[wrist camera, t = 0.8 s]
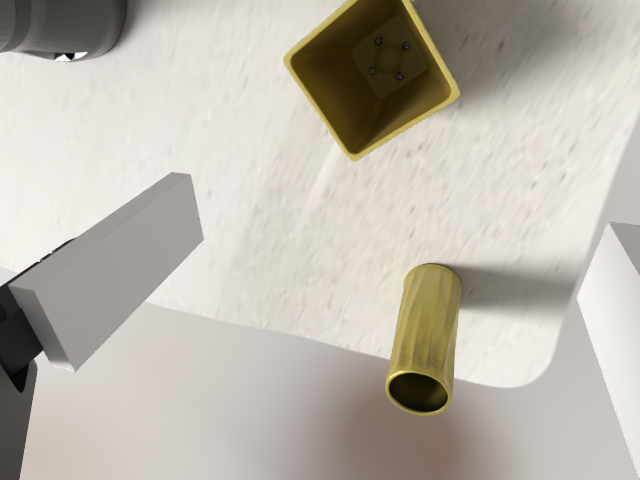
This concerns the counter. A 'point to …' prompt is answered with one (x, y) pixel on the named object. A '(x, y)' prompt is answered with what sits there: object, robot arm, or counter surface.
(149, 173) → the counter surface
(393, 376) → the vase
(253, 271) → the counter surface
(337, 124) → the flower pot
